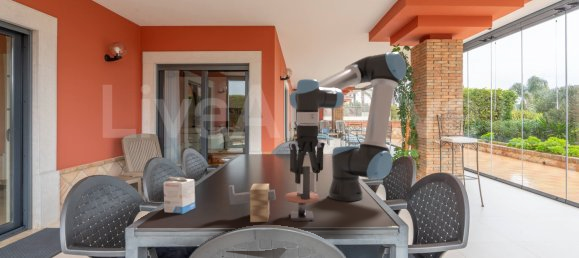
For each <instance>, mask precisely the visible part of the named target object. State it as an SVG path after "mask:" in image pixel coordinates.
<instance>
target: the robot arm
mask: <svg viewBox="0 0 579 258" xmlns="http://www.w3.org/2000/svg"><path fill="white" fill-rule="evenodd" d="M406 75H407V64H406V61H405V58H404V57H403V55H402V54H401V53H399V52H397V51H393V52H386V53H381V54H375V55H369V56H365V57H362V58H359V59H358V60H356V61H354V62H352V63H351V64H348V65H347V66H345V67H344V69H343V70H341V71H339V72H337V73H335V74H332V75H330V76H329V77H326V78H324V79H322V80H317V79H312V78H311V79H310V78H306V79H305V78H304V79H303V78H302V79H299V80H298V81H297V84H296V85H297V86H296V90H294V91H292V92H291V94H290V95H289V103H290V106H291V107H292V108H293V109H295V110H296V124H297V125H296V128H295V129H296V133H295V134H296V140H295V142H292V143H288V147H289V153H290V154H289V171H290V172H291V173H294V183H295V184H296V192H298V193H300V194H303V174H301V171H302V167H303V166H304V163H305V158H306V157H305V156H306V155H307V153H308V156H309V161H310V165H311V166H310V168H311V171H310V192H312V193H316V192H317V182H318V181H319V174H320V173H321V171H323V170H324V148H325V144H326V143H325V142H322V141H319V139H318V136H319V126H318V124H319V109H332V110H333V109H338V108H340V107H341V106H343V104H344V102H345V96H344V92H343V90H346V89H347V88H349V87H351V86H354V87H355V86H357V85H359V84H365V83H370V85H372V93H371V97H370V105H369V111H368V117H367V123H366V130H365V134H364V140H363V141H362V142H360V144H359V145H347V146H346V145H345V146H336V147H334V148H333V149H332V155H331V156H332V157H331V158H332V161H331V162H332V163H331V164H332V179H331V183H330V186H329V189H328V198H330V199H331V200H335V201H339V202H340V201H341V202H343V201H344V202H354V201H360V200H362V199H363V198H364V196H363V190H362V185H361V183H360V179H359V178H360V177H361V178H368V179H370V180H371V179H372V180H383V179H384V178H386V177H387V176H388V175H389V174H390V172H391V170H392V167H393V156H392V154H391V152H389V147H388V146H387V144H386V142H387V134H388V129H389V121H390V116H391V111H392V110H391V108H392V104H393V103H392V102H393V96H394V90H395V89H396V88H397V87H399V82H400V81H401V80H403V79H404V78H405V77H406Z"/></svg>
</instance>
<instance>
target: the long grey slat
mask: <svg viewBox="0 0 579 258" xmlns="http://www.w3.org/2000/svg"><path fill="white" fill-rule="evenodd" d="M227 187H228V188H227V189H228V198H229V205H230V206H232V205H240V204H241V205H242V204H250V191H245V192H235V184H229V186H227ZM268 201H269V202H271V201H272V202H273V201H276V190H275V188H274V189H269V191H268Z"/></svg>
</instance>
